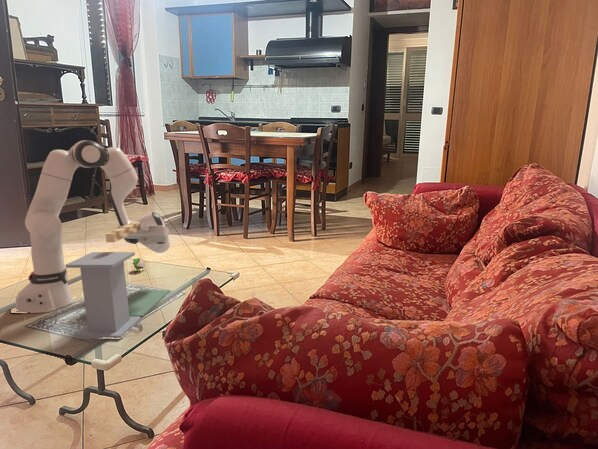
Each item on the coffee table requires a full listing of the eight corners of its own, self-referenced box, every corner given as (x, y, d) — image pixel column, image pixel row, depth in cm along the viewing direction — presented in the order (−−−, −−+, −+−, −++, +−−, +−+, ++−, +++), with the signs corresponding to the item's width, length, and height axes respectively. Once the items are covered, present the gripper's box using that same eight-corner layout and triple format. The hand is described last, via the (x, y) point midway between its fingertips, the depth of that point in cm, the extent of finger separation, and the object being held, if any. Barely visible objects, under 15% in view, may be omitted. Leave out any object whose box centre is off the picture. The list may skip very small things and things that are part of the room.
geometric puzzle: (126, 267, 226) (131, 256, 222) (136, 263, 231) (142, 253, 228) (134, 277, 224) (140, 265, 220) (145, 273, 230) (151, 262, 226)
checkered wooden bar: (134, 229, 179) (133, 221, 179) (141, 229, 179) (140, 221, 179) (106, 242, 158) (105, 234, 157) (114, 242, 158) (113, 233, 157)
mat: (139, 291, 196) (139, 290, 196) (170, 291, 195) (170, 290, 194) (107, 316, 169) (106, 315, 168) (142, 317, 167) (142, 315, 167)
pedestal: (100, 319, 166) (92, 252, 161) (141, 320, 164) (134, 252, 159) (75, 339, 150) (65, 264, 145) (120, 339, 149) (112, 264, 144)
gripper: (126, 229, 191) (110, 218, 178) (172, 228, 189) (159, 217, 176) (124, 243, 189) (108, 233, 176) (170, 242, 187) (158, 233, 174)
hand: (134, 225), depth 176 cm, fingers closed on checkered wooden bar, 3 cm apart
